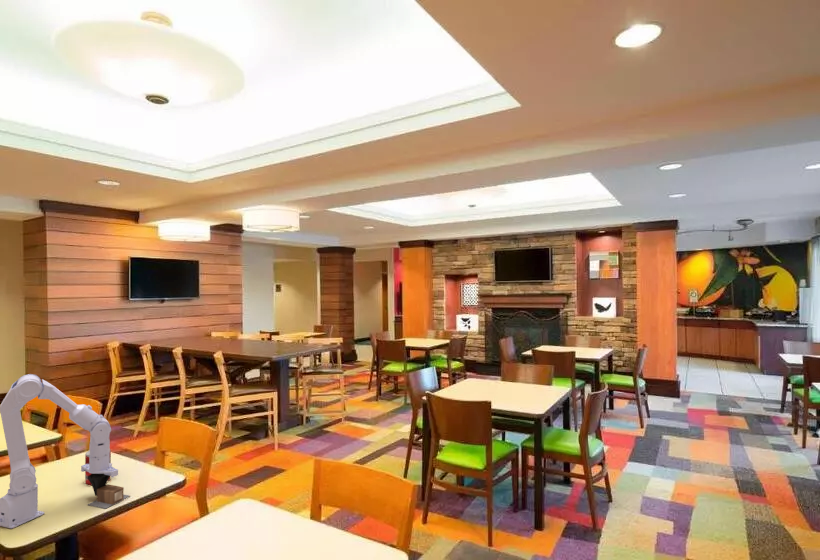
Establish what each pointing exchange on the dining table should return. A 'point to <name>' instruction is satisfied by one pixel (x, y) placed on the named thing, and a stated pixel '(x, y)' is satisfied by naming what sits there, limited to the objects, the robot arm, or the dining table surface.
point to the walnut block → (110, 494)
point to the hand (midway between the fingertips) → (99, 494)
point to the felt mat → (104, 505)
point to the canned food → (88, 463)
